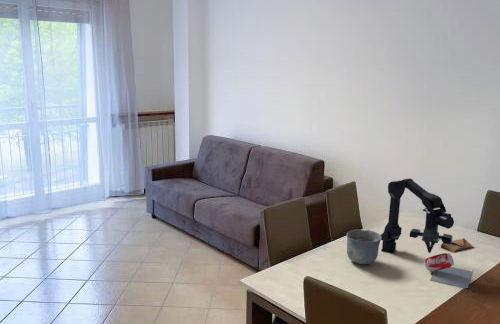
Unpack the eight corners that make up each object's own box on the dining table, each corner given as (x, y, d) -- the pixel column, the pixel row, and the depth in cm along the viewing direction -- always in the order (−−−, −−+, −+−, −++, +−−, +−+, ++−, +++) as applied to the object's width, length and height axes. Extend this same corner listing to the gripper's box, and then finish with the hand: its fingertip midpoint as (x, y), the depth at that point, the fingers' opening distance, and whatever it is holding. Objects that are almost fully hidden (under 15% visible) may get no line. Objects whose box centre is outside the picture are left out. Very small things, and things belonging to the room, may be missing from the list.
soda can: (428, 275, 215) (453, 269, 208) (422, 261, 215) (446, 255, 208) (431, 268, 221) (455, 262, 214) (425, 255, 221) (448, 249, 214)
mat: (429, 280, 209) (430, 279, 209) (437, 264, 225) (437, 264, 225) (467, 288, 200) (467, 288, 200) (472, 272, 217) (472, 271, 217)
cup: (387, 262, 228) (388, 234, 225) (370, 273, 216) (371, 244, 213) (356, 253, 240) (357, 226, 237) (338, 263, 228) (339, 235, 225)
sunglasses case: (453, 253, 239) (448, 241, 241) (443, 255, 245) (439, 243, 247) (476, 247, 247) (471, 235, 249) (466, 249, 253) (461, 238, 255)
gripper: (407, 223, 211) (405, 254, 214) (450, 230, 202) (447, 262, 205) (413, 217, 221) (411, 246, 224) (453, 223, 211) (451, 254, 214)
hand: (429, 252), depth 216 cm, fingers closed
